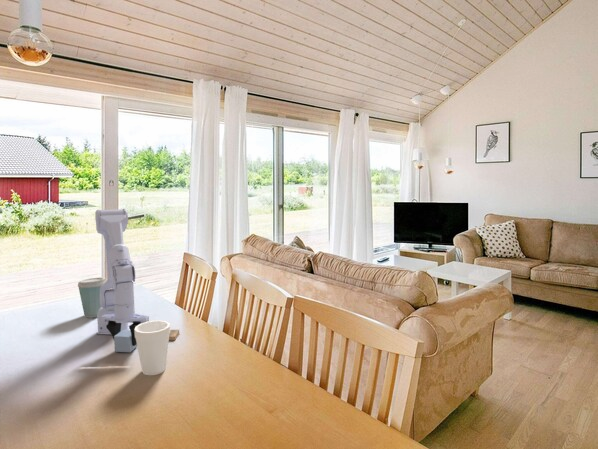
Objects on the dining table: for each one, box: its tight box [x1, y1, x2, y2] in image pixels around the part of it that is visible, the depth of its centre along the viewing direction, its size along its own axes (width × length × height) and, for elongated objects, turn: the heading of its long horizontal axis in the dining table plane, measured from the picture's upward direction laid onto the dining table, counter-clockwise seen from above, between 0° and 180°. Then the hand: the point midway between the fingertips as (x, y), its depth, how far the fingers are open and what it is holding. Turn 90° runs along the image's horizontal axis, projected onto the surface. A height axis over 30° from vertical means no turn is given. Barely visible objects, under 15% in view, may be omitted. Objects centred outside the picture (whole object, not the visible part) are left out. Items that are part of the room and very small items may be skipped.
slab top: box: [169, 329, 180, 341], centre depth 133 cm, size 6×6×1 cm
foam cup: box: [134, 320, 171, 376], centre depth 110 cm, size 10×9×13 cm
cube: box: [113, 329, 138, 353], centre depth 123 cm, size 5×5×5 cm
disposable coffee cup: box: [77, 276, 108, 319], centre depth 155 cm, size 11×11×15 cm
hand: (126, 344), depth 123 cm, fingers closed on cube, 5 cm apart
